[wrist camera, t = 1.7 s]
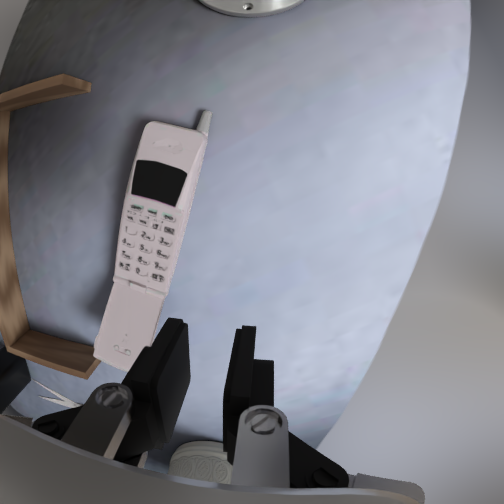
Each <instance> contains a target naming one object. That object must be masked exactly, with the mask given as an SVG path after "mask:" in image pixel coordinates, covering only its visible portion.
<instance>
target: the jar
mask: <svg viewBox="0 0 504 504" xmlns="http://www.w3.org/2000/svg"><path fill="white" fill-rule="evenodd" d="M232 470H233V466H232V465H231V464H230V463H229V462H228V461H227V452H223V443H219V442H213V441H194V442H188V443H185V444H183V445H181V446H179V447H178V448H177V449H176V451H175V453H174V454H173V455H172V457H171V460H170V468H169V471H168V475H173V476H178V477H183V478H189V479H195V480H201V481H207V482H214V483H222V484H231V478H232Z"/></svg>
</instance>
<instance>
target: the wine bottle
mask: <svg viewBox="0 0 504 504" xmlns="http://www.w3.org/2000/svg"><path fill="white" fill-rule="evenodd" d="M30 381H31V377H30V374H29V370H28V367H27V364H26V361H25V359H24V358H22V357H20V356H17V355H15V354H12V353H10V352H8V351H7V348H6V347H3V348H2V349H1V350H0V414H2V413H3V411H4V410H5V409H6V408H7V407H8V406H9V405H10V403H11V402H12V401H13V400H14V399H15V398H16V397H17V395H18V394H19V393H20V392H21V391H22V390H23V389H24V388H25V387H26V385H27V384H28V383H29V382H30Z"/></svg>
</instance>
